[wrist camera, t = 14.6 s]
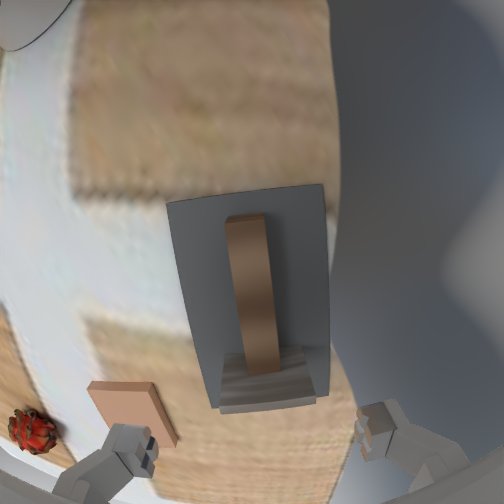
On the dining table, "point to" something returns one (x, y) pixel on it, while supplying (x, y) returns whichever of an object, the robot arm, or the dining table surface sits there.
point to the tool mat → (281, 267)
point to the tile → (133, 408)
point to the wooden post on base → (259, 331)
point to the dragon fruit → (32, 432)
